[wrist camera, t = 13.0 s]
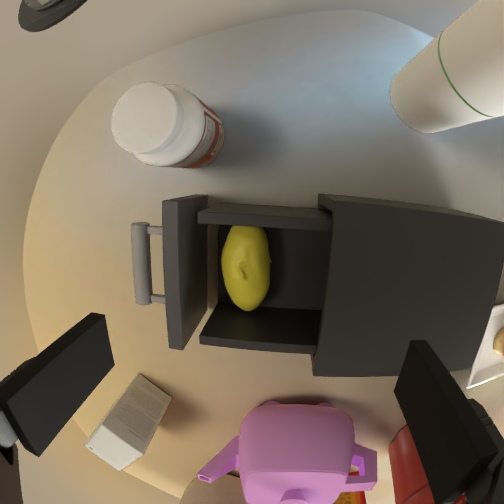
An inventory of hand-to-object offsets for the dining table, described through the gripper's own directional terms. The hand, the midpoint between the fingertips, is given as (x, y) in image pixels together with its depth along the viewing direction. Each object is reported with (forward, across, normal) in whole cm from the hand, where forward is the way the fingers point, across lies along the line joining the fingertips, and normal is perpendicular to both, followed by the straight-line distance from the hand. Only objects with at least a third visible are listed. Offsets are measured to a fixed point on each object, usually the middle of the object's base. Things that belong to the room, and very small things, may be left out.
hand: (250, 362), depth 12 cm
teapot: (+18, +4, -22) cm, 29 cm away
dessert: (+18, +32, -10) cm, 38 cm away
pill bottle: (+18, -8, +11) cm, 22 cm away
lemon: (+16, -2, 0) cm, 16 cm away
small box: (+18, -16, -21) cm, 32 cm away
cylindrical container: (+18, +14, +17) cm, 28 cm away
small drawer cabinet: (+18, +11, 0) cm, 21 cm away
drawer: (+17, -3, 0) cm, 17 cm away
